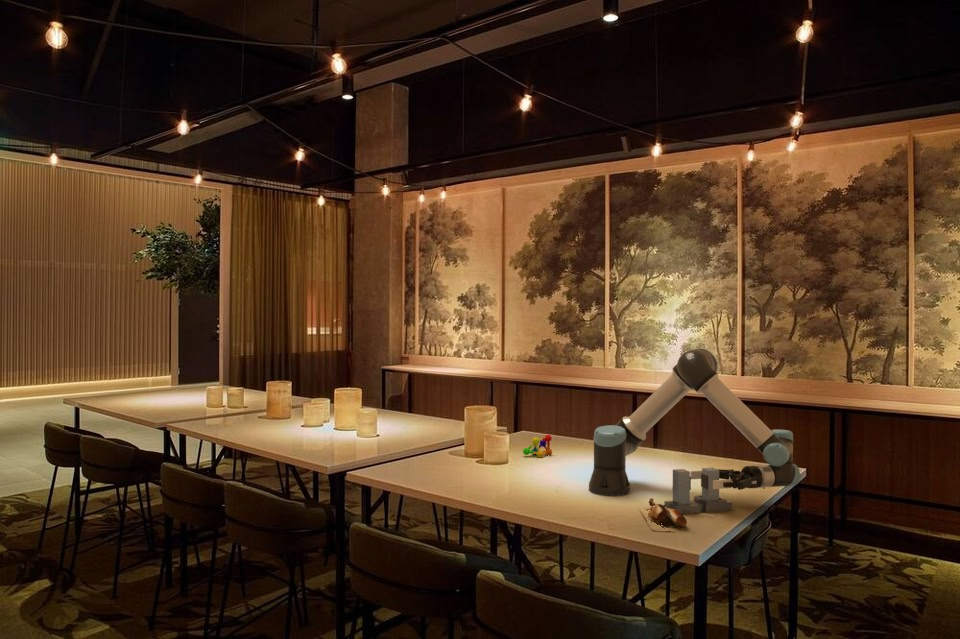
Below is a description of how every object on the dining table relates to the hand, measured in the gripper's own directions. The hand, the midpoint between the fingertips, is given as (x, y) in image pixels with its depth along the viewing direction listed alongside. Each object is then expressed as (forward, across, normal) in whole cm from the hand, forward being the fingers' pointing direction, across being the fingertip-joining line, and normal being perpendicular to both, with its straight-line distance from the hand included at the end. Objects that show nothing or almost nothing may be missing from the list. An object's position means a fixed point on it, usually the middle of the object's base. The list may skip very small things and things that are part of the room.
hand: (701, 479), depth 231 cm
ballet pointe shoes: (+18, -8, -11) cm, 23 cm away
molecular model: (+25, +96, -10) cm, 99 cm away
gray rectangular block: (-3, 0, -8) cm, 8 cm away
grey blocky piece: (+1, 0, -10) cm, 10 cm away
